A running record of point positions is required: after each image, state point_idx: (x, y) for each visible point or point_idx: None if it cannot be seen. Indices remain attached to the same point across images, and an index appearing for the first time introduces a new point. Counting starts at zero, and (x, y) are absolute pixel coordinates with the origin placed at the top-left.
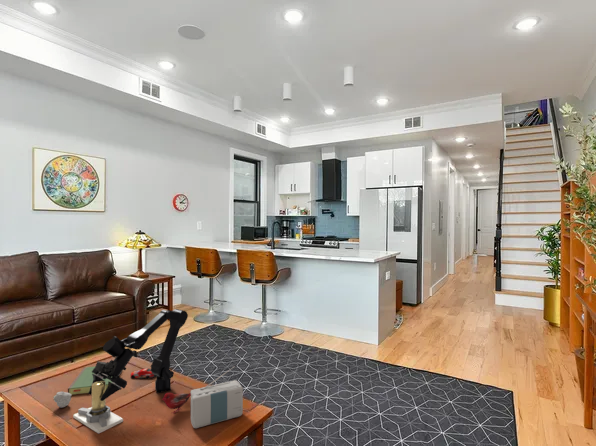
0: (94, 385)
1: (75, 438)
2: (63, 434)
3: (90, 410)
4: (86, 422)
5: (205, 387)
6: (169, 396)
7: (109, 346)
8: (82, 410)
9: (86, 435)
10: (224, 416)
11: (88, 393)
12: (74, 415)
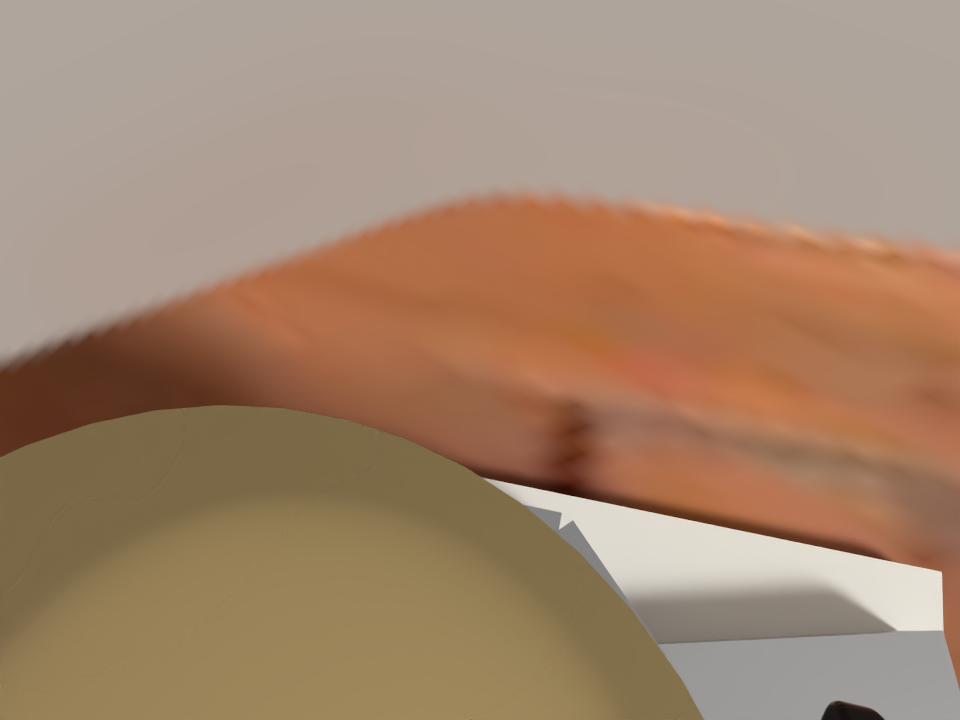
0: (237, 549)
1: (383, 257)
2: (597, 254)
3: None
4: (503, 490)
5: None
6: None
7: None
8: (832, 641)
9: (305, 343)
10: None
11: (870, 710)
12: (898, 564)
